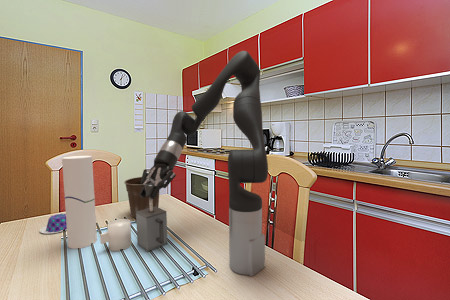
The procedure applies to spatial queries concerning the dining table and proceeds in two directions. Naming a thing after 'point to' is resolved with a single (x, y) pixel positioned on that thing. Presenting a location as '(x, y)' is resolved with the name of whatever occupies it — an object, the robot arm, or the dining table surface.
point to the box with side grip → (151, 228)
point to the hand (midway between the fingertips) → (146, 197)
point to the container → (79, 201)
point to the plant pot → (134, 199)
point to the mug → (117, 235)
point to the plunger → (147, 191)
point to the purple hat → (55, 224)
